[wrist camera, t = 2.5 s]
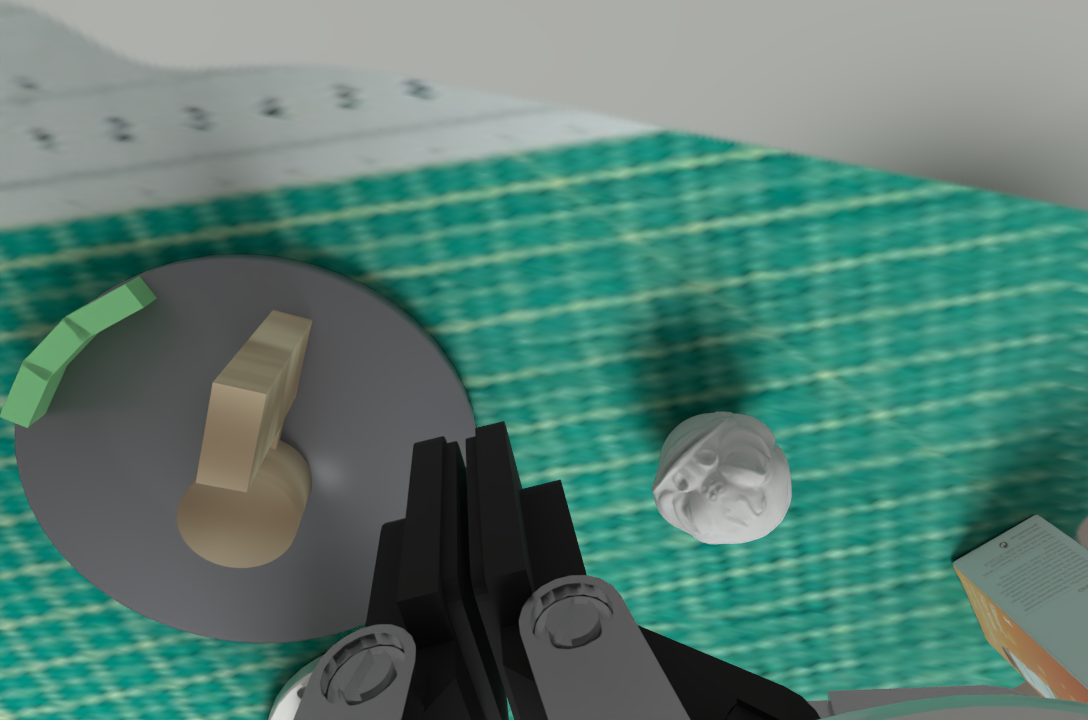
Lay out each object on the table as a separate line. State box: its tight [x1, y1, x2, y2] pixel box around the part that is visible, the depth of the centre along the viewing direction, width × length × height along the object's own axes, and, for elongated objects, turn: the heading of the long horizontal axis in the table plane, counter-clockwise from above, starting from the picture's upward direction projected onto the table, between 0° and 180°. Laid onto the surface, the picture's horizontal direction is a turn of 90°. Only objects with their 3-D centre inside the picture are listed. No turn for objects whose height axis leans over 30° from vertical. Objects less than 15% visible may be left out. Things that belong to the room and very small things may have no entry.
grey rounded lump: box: [652, 411, 791, 544], centre depth 29 cm, size 6×7×7 cm
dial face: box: [0, 254, 477, 643], centre depth 28 cm, size 19×19×2 cm
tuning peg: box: [177, 310, 312, 568], centre depth 24 cm, size 10×4×7 cm, turn 162°
